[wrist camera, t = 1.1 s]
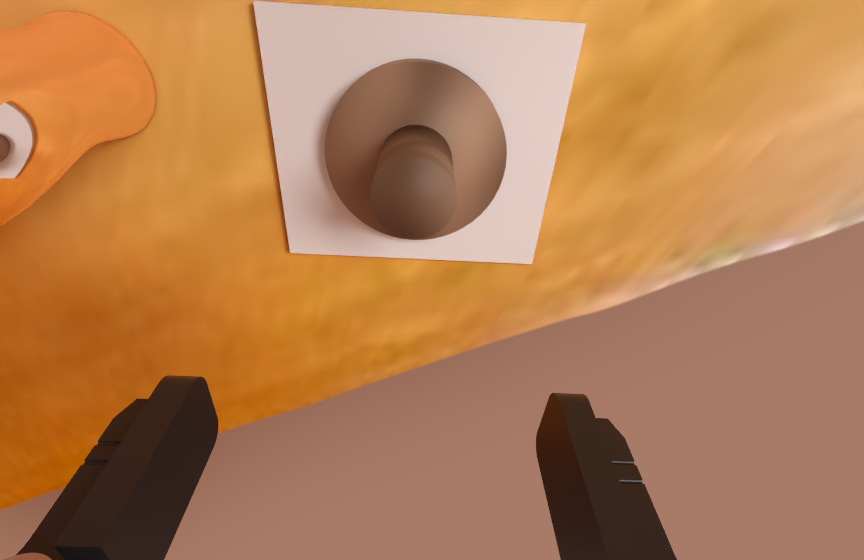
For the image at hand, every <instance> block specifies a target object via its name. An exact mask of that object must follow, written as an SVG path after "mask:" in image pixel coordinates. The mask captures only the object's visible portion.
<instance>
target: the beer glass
mask: <svg viewBox="0 0 864 560" xmlns="http://www.w3.org/2000/svg"><path fill="white" fill-rule="evenodd" d="M155 104H156V92H155V86H154V82H153V79H152V76H151V73H150V71H149V69H148V67H147V65H146V63H145V61H144V60H143V58H142V57H141V55H140V54H139V52H138V51H137V50H136V49H135V47H134V46H133V45H132V44H131V43H130V42H129V41H128V40H127V39H126V38H125V37H124V36H123V35H122V34H121V33H119V32H118V31H117V30H116V29H114V28H113V27H111V26H110V25H108V24H107V23H105V22H103V21H101V20H99V19H97V18H95V17H92V16H90V15H87V14H83V13H79V12H74V11H57V12H52V13H48V14H46V15H43V16H41V17H39V18H37V19H35V20H33V21H31V22H29V23H27V24H25V25H23V26H20V27H17V28H13V29H2V30H0V226H2V225H3V224H5V223H6V222H8V221H9V220H11V219H12V218H14V217H15V216H17V215H18V214H20V213H21V212H23V211H24V210H25V209H27V208H28V207H29V206H30V205H31V204H32V203H34V202H35V201H36V200H37V199H38V198H39V197H41V196H42V195H43V194H44V193H45V192H46V191H48V190H49V189H50V188H51V187H52V186H53V185H54V184H55V183H56V182H57V181H58V180H59V179H60V178H61V177H62V176H63V175H64V174H65V173H66V171H67V170H68V169H69V168H70V167H71V166H72V165H73V164H74V163H75V162H76V161H77V160H78V159H79V158H80V157H81V156H82V155H83V154H84V153H85V152H86V151H87V150H89V149H90V148H92V147H93V146H95V145H97V144H99V143H102V142H106V141H111V140H116V139H120V138H124V137H128V136H131V135H133V134H135V133H137V132H139V131H141V130H142V129H143V128H144V127H145V126H146V125H147V124H148V122H149V121H150V119H151V118H152V116H153V113H154V110H155Z"/></svg>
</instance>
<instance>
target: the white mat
mask: <svg viewBox="0 0 864 560" xmlns="http://www.w3.org/2000/svg"><path fill="white" fill-rule="evenodd" d="M253 4H254V11H255V18H256V25H257V31H258V38H259V45H260V52H261V59H262V65H263V72H264V79H265V86H266V93H267V99H268V106H269V113H270V120H271V127H272V133H273V140H274V147H275V154H276V161H277V168H278V174H279V181H280V188H281V195H282V202H283V208H284V215H285V222H286V229H287V236H288V242H289V249H290V253H302V254H324V255H346V256H367V257H389V258H411V259H433V260H454V261H476V262H498V263H520V264H532V261H533V257H534V252H535V248H536V243H537V239H538V235H539V230H540V226H541V221H542V217H543V213H544V208H545V204H546V199H547V195H548V190H549V186H550V182H551V177H552V173H553V168H554V164H555V160H556V155H557V151H558V146H559V142H560V137H561V133H562V129H563V124H564V120H565V115H566V111H567V107H568V102H569V98H570V93H571V89H572V85H573V80H574V76H575V71H576V67H577V62H578V58H579V54H580V49H581V45H582V40H583V36H584V32H585V27H586V24H585V23H578V22H564V21H549V20H535V19H520V18H506V17H491V16H476V15H462V14H447V13H433V12H418V11H404V10H389V9H375V8H360V7H346V6H331V5H317V4H302V3H288V2H273V1H259V0H256V1H253ZM402 59H427V60H434V61H437V62H440V63H444V64H447V65H449V66H451V67H453V68H456V69H458V70H459V71H461V72H462V73H464V74H466V75H467V76H469V77H470V78H471V79H472V80H473V81H475V82H476V83H477V84H478V85H479V86H480V87H481V88H482V90H483V91H484V92H485V93H486V94H487V96H488V97H489V99H490V100H491V102H492V103H493V105H494V107H495V109H496V111H497V113H498V115H499V118H500V120H501V123H502V126H503V129H504V133H505V138H506V146H507V159H506V168H505V172H504V176H503V180H502V182H501V185H500V188H499V190H498V191H497V193H496V195H495V197H494V199H493V200H492V202H491V203H490V204H489V206H488V207H487V208H486V209H485V210H484V212H483V213H482V214H481V215H480V216H479V217H477V218H476V219H475V220H474V221H473V222H471V223H470V224H468V225H467V226H465V227H464V228H462V229H460V230H458V231H456V232H454V233H451V234H448V235H446V236H442V237H438V238H434V239H426V240H409V239H401V238H397V237H392V236H389V235H386V234H383V233H381V232H379V231H377V230H375V229H372V228H371V227H369V226H368V225H366V224H364V223H363V222H362V221H360V220H359V219H358V218H357V217H355V216H354V215H353V214H352V213H351V212H350V211H349V210H348V209H347V208H346V206H345V205H344V204H343V202H342V201H341V200H340V198H339V197H338V195H337V193H336V192H335V190H334V188H333V185H332V183H331V181H330V178H329V175H328V171H327V167H326V161H325V138H326V132H327V128H328V124H329V121H330V118H331V116H332V114H333V111H334V109H335V108H336V106H337V104H338V103H339V101H340V99H341V98H342V96H343V95H344V94H345V92H346V91H347V90H348V89H349V87H350V86H351V85H352V84H353V83H354V82H355V81H357V80H358V79H359V78H360V77H361V76H363V75H364V74H366V73H367V72H369V71H370V70H372V69H374V68H376V67H378V66H380V65H382V64H386V63H389V62H392V61H396V60H402Z"/></svg>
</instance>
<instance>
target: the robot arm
mask: <svg viewBox="0 0 864 560" xmlns="http://www.w3.org/2000/svg"><path fill="white" fill-rule="evenodd" d="M217 434H218V418H217V415H216V411H215V408H214V405H213V402H212V398H211V395H210V392H209V389H208V385H207V382H206V380H205V379H204V378H203V377H192V376H165V377H164V378H163V379H162V380H161V381H160V382H159V384H158V385H157V387H156V388H155V390H154V391H153V393H152V394H151V396H150V398H149V399H136V400H135V401H134V402H133V403H132V404H130V405H129V406H128V407H127V408H125V409H124V410H123V411H122V412H121V413H119V414H118V415H117V416H116V417H114V418H113V420H112V421H111V423H110V424H109V426H108V427H107V429H106V430H105V431H104V433H103V434H102V436H101V437H100V439H99V440H98V444H97V446H94V447H93V449H92V450H91V452H90V453H89V454H88V456H87V457H86V459H85V463H84V465H81V466H80V467H79V469H78V470H77V472H76V473H75V475H74V476H73V478H72V479H71V480H70V482H69V483H68V485H67V486H66V488H65V489H64V490H63V492H62V494H61V495H60V496H59V498H58V499H57V501H56V502H55V503H54V505H53V506H52V508H51V509H50V511H49V512H48V513H47V515H46V516H45V518H44V520H43V521H42V522H41V524H40V525H39V526H38V528H37V530H36V531H35V532H34V534H33V535H32V537H31V538H30V539H29V541H28V542H27V543H26V544H25V546H24V547H23V548H22V549H21V550H20V551H19V552H18V554H17V555H15V556H13V557H10V558H8V559H5V560H164V558H165V556H166V554H167V552H168V549H169V547H170V545H171V543H172V540H173V538H174V535H175V533H176V531H177V529H178V527H179V524H180V522H181V520H182V518H183V515H184V513H185V511H186V508H187V506H188V504H189V502H190V500H191V497H192V495H193V493H194V490H195V488H196V486H197V484H198V481H199V479H200V477H201V475H202V472H203V470H204V468H205V466H206V463H207V461H208V459H209V456H210V454H211V452H212V449H213V448H214V445H215V442H216V438H217ZM536 451H537V458H538V463H539V467H540V472H541V476H542V480H543V485H544V489H545V493H546V497H547V502H548V506H549V511H550V514H551V519H552V523H553V527H554V532H555V536H556V540H557V545H558V549H559V554H560V558H561V560H677V559H676V557H675V555H674V553H673V550H672V548H671V545H670V543H669V541H668V538H667V536H666V534H665V531H664V529H663V527H662V524H661V522H660V520H659V518H658V515H657V513H656V510H655V508H654V506H653V503H652V501H651V499H650V496H649V494H648V492H647V489H646V487H645V485H644V484H643V483H642V478H641V475H640V473H639V471H638V468H637V466H636V465H634V459H633V457H632V454H631V452H630V450H629V447H628V445H627V443H626V440H625V438H624V437H623V436H622V435H621V434H620V432H619V431H618V430H617V429H616V428H615V427H614V425H613V424H612V423H611V422H610V421H609V420H608V419H602V418H595V415H594V413H593V410H592V408H591V405H590V402H589V400H588V398H587V397H586V396H585V395H584V394H564V393H552V394H551V395H550V397H549V399H548V402H547V405H546V408H545V411H544V414H543V417H542V420H541V423H540V426H539V428H538V432H537V437H536Z"/></svg>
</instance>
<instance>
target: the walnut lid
mask: <svg viewBox="0 0 864 560" xmlns="http://www.w3.org/2000/svg"><path fill="white" fill-rule="evenodd" d="M506 159H507V146H506V138H505V133H504V129H503V126H502V123H501V120H500V118H499V115H498V113H497V111H496V109H495V107H494V105H493V103H492V102H491V100H490V99H489V97H488V96H487V94H486V93H485V92H484V91H483V90H482V88H481V87H480V86H479V85H478V84H477V83H476V82H475V81H473V80H472V79H471V78H470V77H469V76H467V75H466V74H464V73H462V72H461V71H459V70H458V69H456V68H453V67H451V66H449V65H447V64H444V63H440V62H437V61H434V60H427V59H402V60H396V61H392V62H389V63H386V64H382V65H380V66H378V67H376V68H374V69H372V70H370V71H369V72H367V73H366V74H364V75H363V76H361V77H360V78H359V79H358V80H357V81H355V82H354V83H353V84H352V85H351V86H350V87H349V89H348V90H347V91H346V92H345V94H344V95H343V96H342V98H341V99H340V101H339V103H338V104H337V106H336V108H335V109H334V111H333V114H332V116H331V118H330V121H329V124H328V128H327V132H326V138H325V161H326V167H327V171H328V175H329V178H330V181H331V183H332V185H333V188H334V190H335V192H336V193H337V195H338V197H339V198H340V200H341V201H342V202H343V204H344V205H345V206H346V208H347V209H348V210H349V211H350V212H351V213H352V214H353V215H354V216H355V217H357V218H358V219H359V220H360V221H362V222H363V223H364V224H366V225H368V226H369V227H371V228H372V229H375V230H377V231H379V232H381V233H383V234H386V235H389V236H392V237H397V238H401V239H409V240H426V239H434V238H438V237H442V236H446V235H448V234H451V233H454V232H456V231H458V230H460V229H462V228H464V227H465V226H467V225H468V224H470V223H471V222H473V221H474V220H475V219H476V218H477V217H479V216H480V215H481V214H482V213H483V212H484V210H485V209H486V208H487V207H488V206H489V204H490V203H491V202H492V200H493V199H494V197H495V195H496V193H497V191H498V190H499V188H500V185H501V182H502V180H503V176H504V172H505V168H506Z"/></svg>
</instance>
